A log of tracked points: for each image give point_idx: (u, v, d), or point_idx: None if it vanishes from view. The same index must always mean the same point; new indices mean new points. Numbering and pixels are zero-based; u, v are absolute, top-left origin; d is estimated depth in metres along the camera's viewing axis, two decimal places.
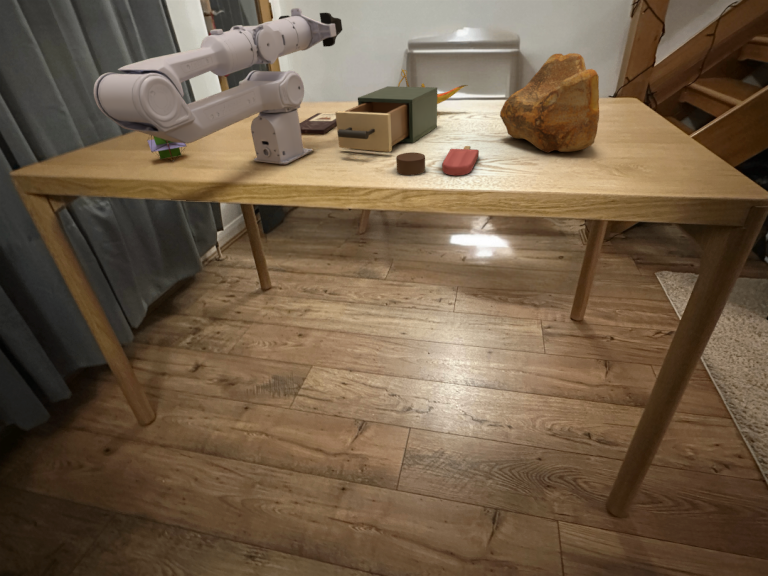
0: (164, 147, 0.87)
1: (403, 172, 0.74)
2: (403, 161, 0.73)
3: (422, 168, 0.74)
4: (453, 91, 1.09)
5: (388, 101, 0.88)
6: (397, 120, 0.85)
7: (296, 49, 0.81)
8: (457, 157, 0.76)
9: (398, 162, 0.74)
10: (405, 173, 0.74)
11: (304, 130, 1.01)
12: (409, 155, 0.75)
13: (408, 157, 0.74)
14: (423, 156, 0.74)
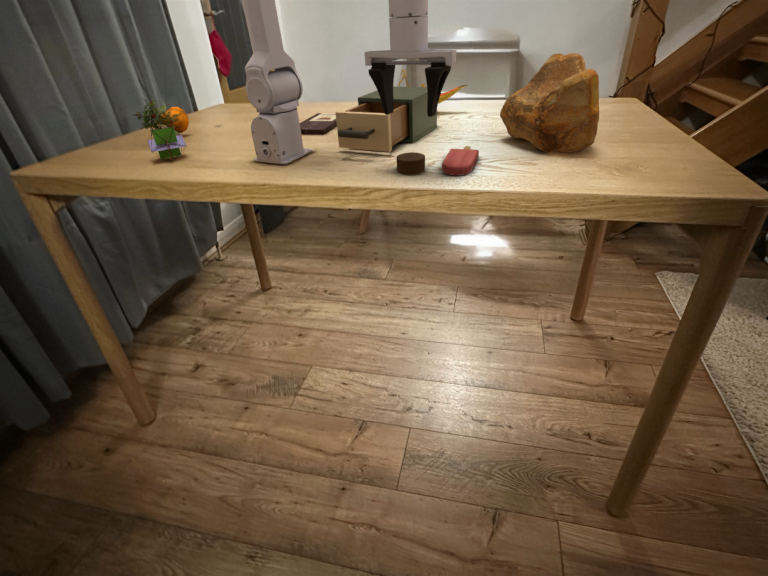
0: (164, 147, 0.87)
1: (403, 172, 0.74)
2: (403, 161, 0.73)
3: (422, 168, 0.74)
4: (453, 91, 1.09)
5: None
6: (397, 120, 0.85)
7: (413, 19, 0.61)
8: (457, 157, 0.76)
9: (398, 162, 0.74)
10: (405, 173, 0.74)
11: (304, 130, 1.01)
12: (409, 155, 0.75)
13: (408, 157, 0.74)
14: (423, 156, 0.74)
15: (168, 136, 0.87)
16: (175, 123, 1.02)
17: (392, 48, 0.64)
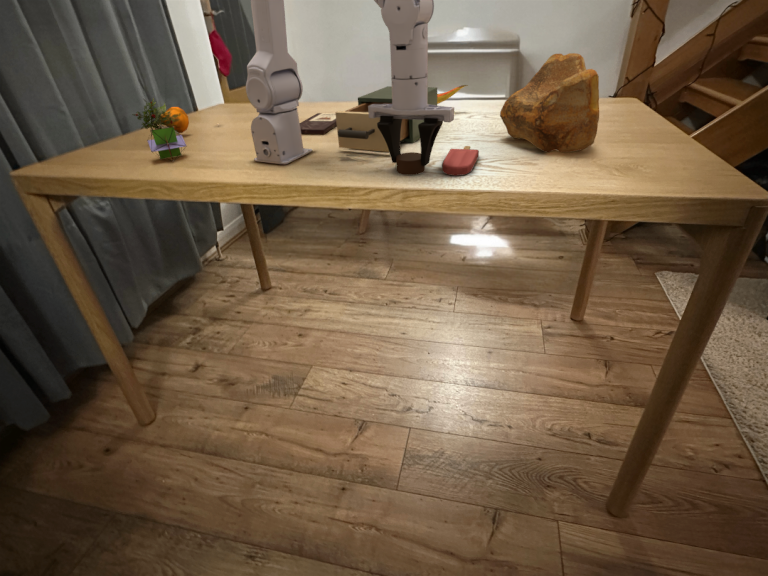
0: (164, 147, 0.87)
1: (403, 172, 0.74)
2: (402, 161, 0.73)
3: (422, 168, 0.74)
4: (453, 91, 1.09)
5: (388, 101, 0.88)
6: None
7: (414, 80, 0.65)
8: (457, 157, 0.76)
9: (398, 162, 0.74)
10: (405, 173, 0.74)
11: (304, 130, 1.01)
12: (408, 155, 0.75)
13: (408, 157, 0.74)
14: None
15: (168, 136, 0.87)
16: (175, 123, 1.02)
17: (394, 105, 0.69)
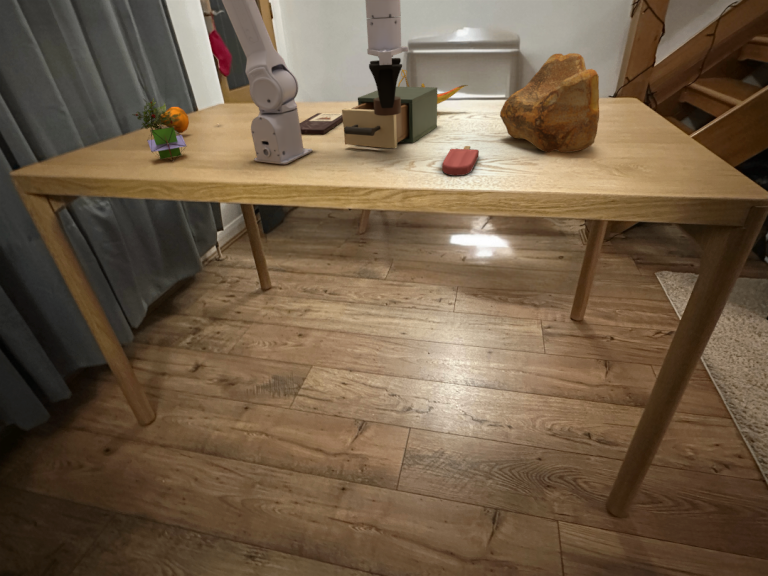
0: (164, 147, 0.87)
1: (374, 110, 0.80)
2: None
3: (384, 111, 0.77)
4: (453, 91, 1.09)
5: None
6: (402, 118, 0.87)
7: (370, 20, 0.70)
8: (457, 157, 0.76)
9: None
10: (374, 112, 0.80)
11: (304, 130, 1.01)
12: None
13: None
14: None
15: (168, 136, 0.87)
16: (175, 123, 1.02)
17: None
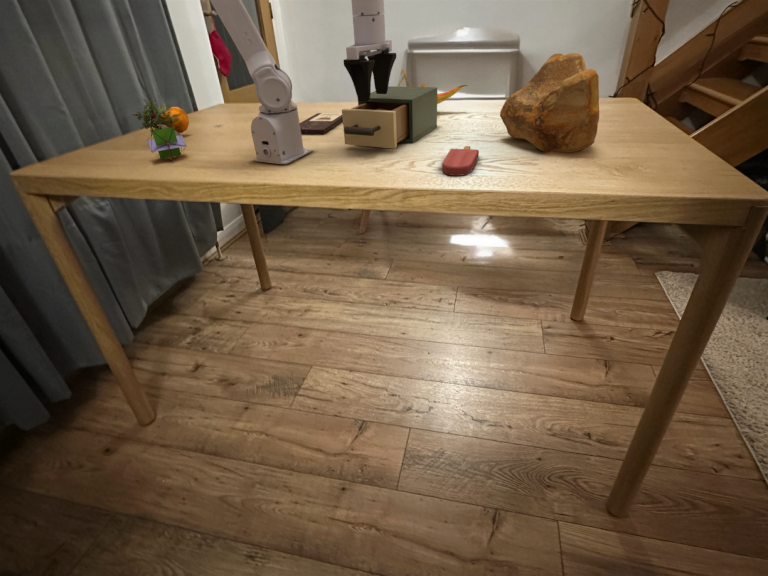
0: (164, 147, 0.87)
1: None
2: None
3: None
4: (453, 91, 1.09)
5: (388, 101, 0.88)
6: (402, 118, 0.87)
7: (353, 18, 0.77)
8: (457, 157, 0.76)
9: None
10: None
11: (304, 130, 1.01)
12: None
13: None
14: None
15: (168, 136, 0.87)
16: (175, 123, 1.02)
17: None
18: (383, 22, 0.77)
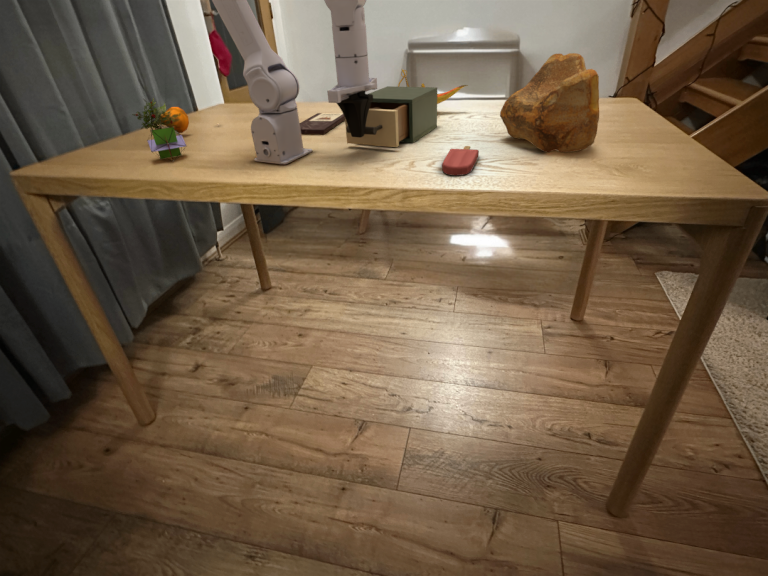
0: (164, 147, 0.87)
1: None
2: None
3: None
4: (453, 91, 1.09)
5: (388, 101, 0.88)
6: (404, 117, 0.87)
7: (335, 59, 0.74)
8: (457, 157, 0.76)
9: None
10: None
11: (304, 130, 1.01)
12: None
13: None
14: None
15: (168, 136, 0.87)
16: (175, 123, 1.02)
17: None
18: (366, 63, 0.74)
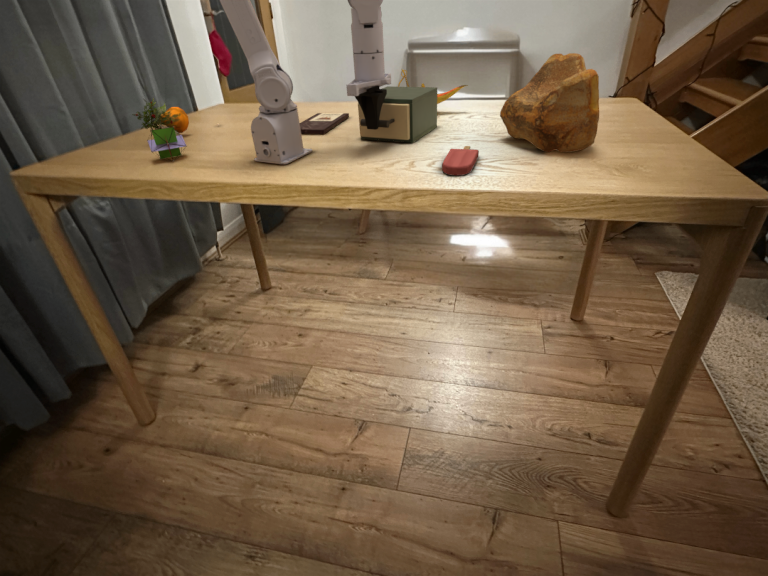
0: (164, 147, 0.87)
1: None
2: None
3: None
4: (453, 91, 1.09)
5: (388, 101, 0.88)
6: None
7: (353, 55, 0.79)
8: (457, 157, 0.76)
9: None
10: None
11: (304, 130, 1.01)
12: None
13: None
14: None
15: (168, 136, 0.87)
16: (175, 123, 1.02)
17: None
18: (382, 59, 0.79)
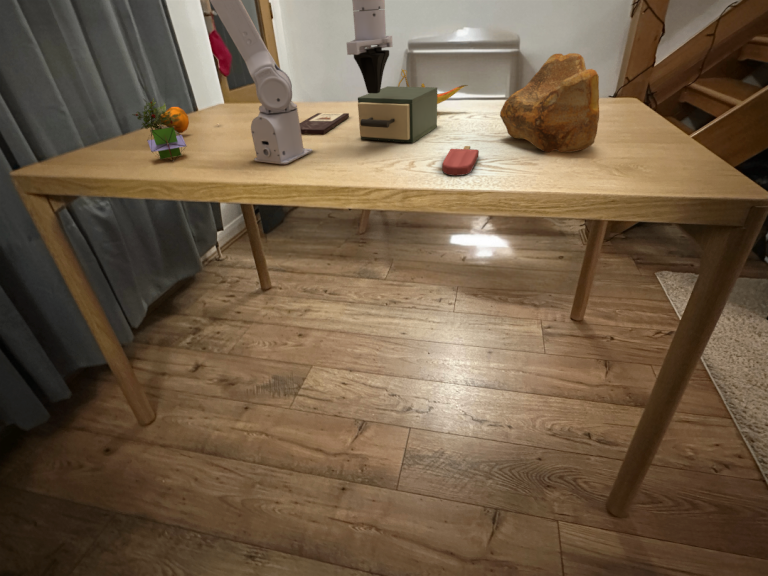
0: (164, 147, 0.87)
1: None
2: None
3: None
4: (453, 91, 1.09)
5: (388, 101, 0.88)
6: None
7: (353, 13, 0.76)
8: (457, 157, 0.76)
9: None
10: None
11: (304, 130, 1.01)
12: None
13: None
14: None
15: (168, 136, 0.87)
16: (175, 123, 1.02)
17: None
18: (384, 17, 0.76)
